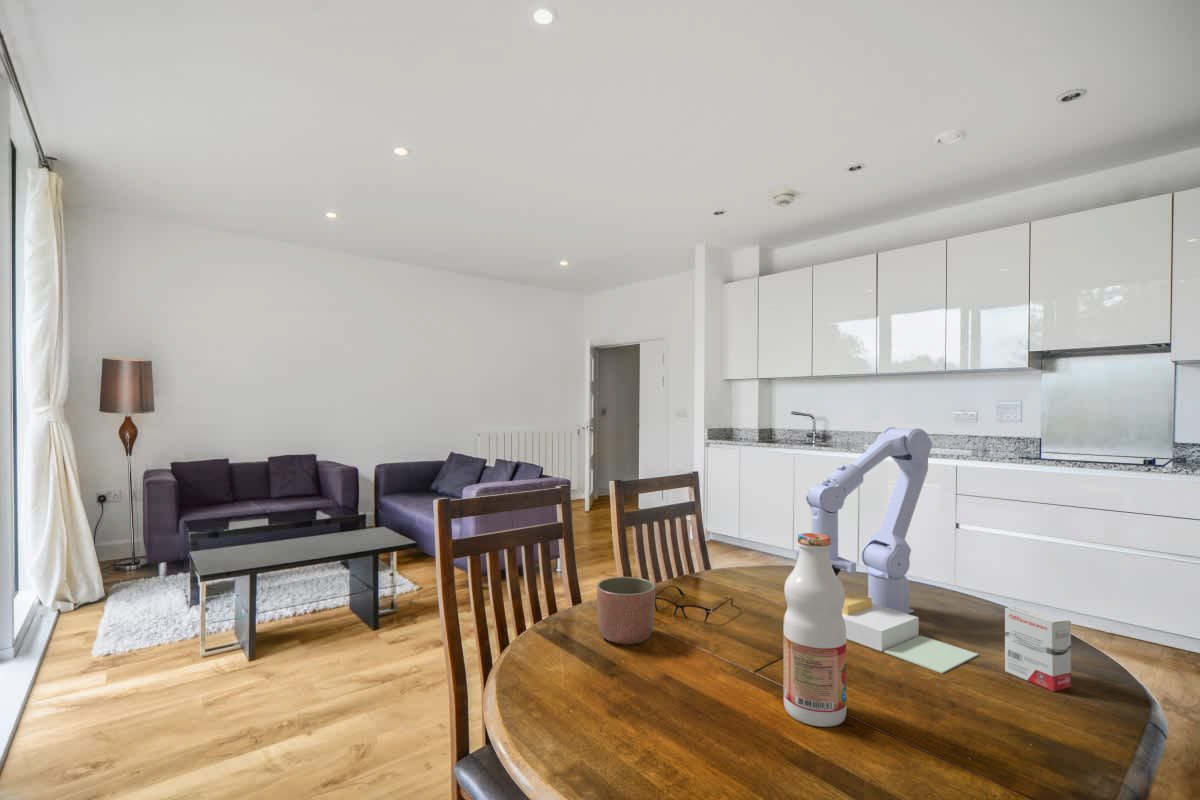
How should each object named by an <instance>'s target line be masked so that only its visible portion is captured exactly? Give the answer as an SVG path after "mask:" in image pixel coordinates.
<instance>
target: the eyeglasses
mask: <svg viewBox="0 0 1200 800" xmlns="http://www.w3.org/2000/svg"><path fill="white" fill-rule="evenodd" d="M668 588H675V589H677V591H678V592H679V594H680V596H681V595H683V594H684V595H685V593H684V591H682V589H680V587H677V586H676V585H668V586H666V587H664V588H663V589H662V590H660V591H659V592H658V593H657V594H656V593H655V610H656V612H657V611H659V609H658V607H657V603H656V600H660V601H661V600H662V601H665V602H668V603H671V604H672V605H674V606H675V611H674V613H673V614H672V615H674V616H675V615H676V613H678V612H679V608H680V609H681V611H682V612H681V613H682V614H683V616H684V618H685V619H686V618H688V617H687V614H686V612H685V609H684V608H687V607H689V608H690V607H692V608H693V607H694V608H698V609H700V610H701V609H702V610H704V611H706V616H705V618H704V620H703V622H705V623H706V621H708V617H709V615H710V614H711V613H713V612H714V611H716V610H718V609H719V608H720V607H722V606H723V605H724V604H726V603H728V602H729V601H730V600H731V601H730V606H731V605H732V606H733V602H734V601H733V597H730V598H729V599H727V600H726V601H724V602H723V603H721V604H720V605H718V606H716V607H715V608H713V609H709V608H707V607H704V606H701V605H694V604H683V605H682V604H681V605H680V604H678V603H676V602H674V601H673V600H670V599H668V598H667V599H666V598H664V597H659V596H658V595H659V594H661V593H662V592H664V591H665V590H666V589H668ZM684 595H683V596H684Z"/></svg>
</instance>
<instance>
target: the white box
mask: <svg viewBox="0 0 1200 800" xmlns="http://www.w3.org/2000/svg"><path fill="white" fill-rule="evenodd" d="M842 616H843V619H844V621H845V625H846V640H849V641H851V642H855V643H857V644H859V645H862V646H865V647H868V648H870V649H874V650H877V651H879V652H884V651H885V650H887V649H890V648H892V647H895V646H897V645H899V644H902V643H904V642H907V641H909V640H911V639H914V638H916V637H919V636H920V635H919V634H920V633H919V632H920V631H919V628H920V627H919V622H920V621H919V617H918V616H915V615H912V614H910V613H909V614H906V613H903V612H899V611H896V610H893V609H889V608H886V607H883V606H879V605H876V604H872V607H871V608H868V609H865V610H862V611H859V612H856V613H853V614H850V615H845V614H842Z"/></svg>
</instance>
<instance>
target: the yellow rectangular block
mask: <svg viewBox="0 0 1200 800" xmlns="http://www.w3.org/2000/svg"><path fill="white" fill-rule="evenodd" d="M871 607H872V598H869V597H868V596H865V595H862V594H858V593H855V592H852V591H848V590H846V591H845V602H844V606H843V609H842V614H845V615H850V614H853V613H856V612H859V611H862V610H865V609H868V608H871Z"/></svg>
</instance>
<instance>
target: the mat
mask: <svg viewBox="0 0 1200 800" xmlns="http://www.w3.org/2000/svg"><path fill="white" fill-rule="evenodd" d="M883 653H885V654H887V655H890V656H893V657H895V658H899V659H900V660H901V659H902V661H903V660H904V661H906V662H910V663H912V664H915V665H918V666H921V667H923V668H925V669H929V670H931V671H934V672H937V673H940V674H944V673H946V672H949V671H951V670H952V669H954V668H956V667H958V666H961V665H963V664H965V663H967V662H968V661H970V660H972V659H974V658H976V657H978V656H979V653H976V652H974V651H970V650H967V649H964V648H960V647H957V646H954V645H951V644H949V643H946V642H942V641H939V640H937V639H934V638H930V637H927V636H925V635H924V636H923V635H919V636H918V637H915V638H913V639H911V640H908V641H906V642H903V643H901V644H899V645H896V646H894V647H891V648H889V649H886V650H884V651H883Z"/></svg>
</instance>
